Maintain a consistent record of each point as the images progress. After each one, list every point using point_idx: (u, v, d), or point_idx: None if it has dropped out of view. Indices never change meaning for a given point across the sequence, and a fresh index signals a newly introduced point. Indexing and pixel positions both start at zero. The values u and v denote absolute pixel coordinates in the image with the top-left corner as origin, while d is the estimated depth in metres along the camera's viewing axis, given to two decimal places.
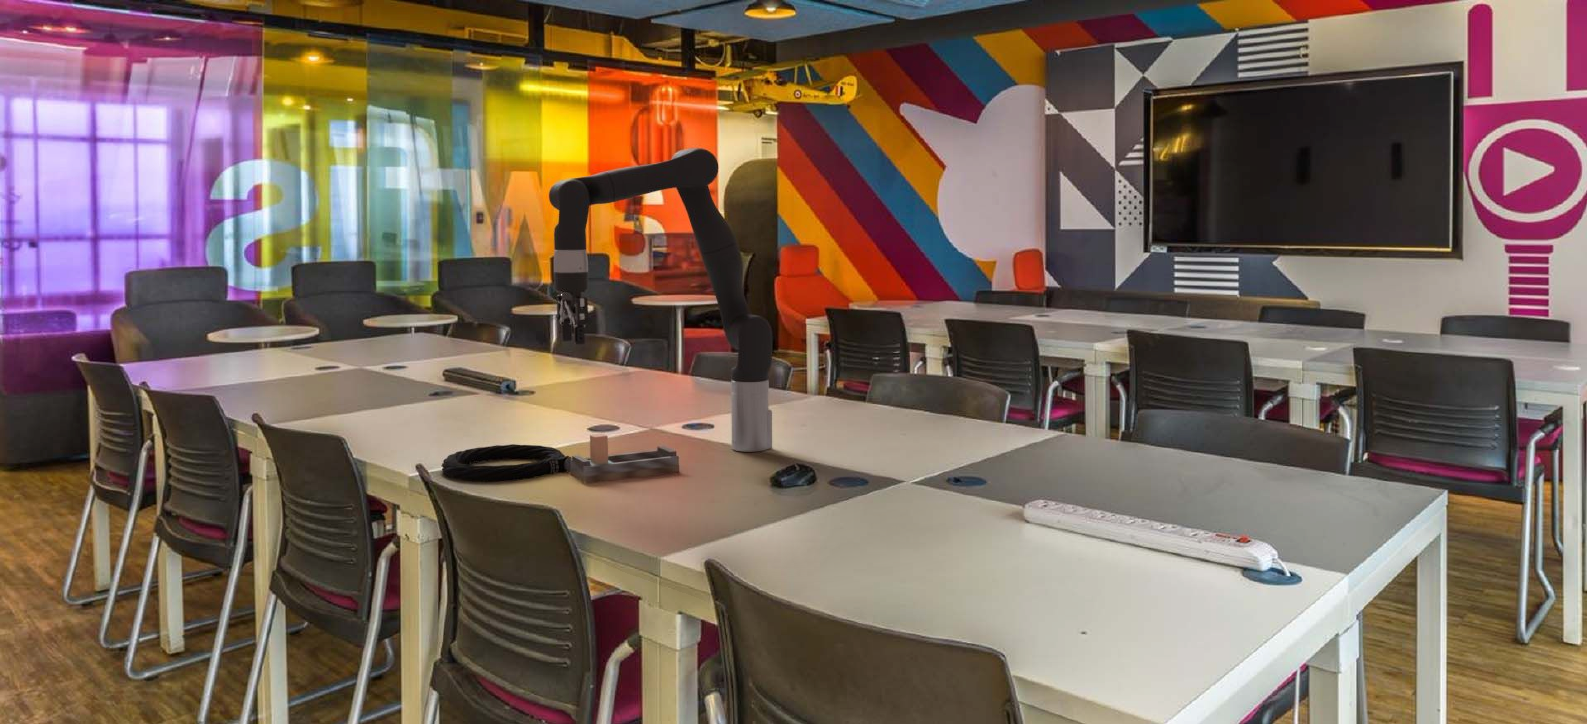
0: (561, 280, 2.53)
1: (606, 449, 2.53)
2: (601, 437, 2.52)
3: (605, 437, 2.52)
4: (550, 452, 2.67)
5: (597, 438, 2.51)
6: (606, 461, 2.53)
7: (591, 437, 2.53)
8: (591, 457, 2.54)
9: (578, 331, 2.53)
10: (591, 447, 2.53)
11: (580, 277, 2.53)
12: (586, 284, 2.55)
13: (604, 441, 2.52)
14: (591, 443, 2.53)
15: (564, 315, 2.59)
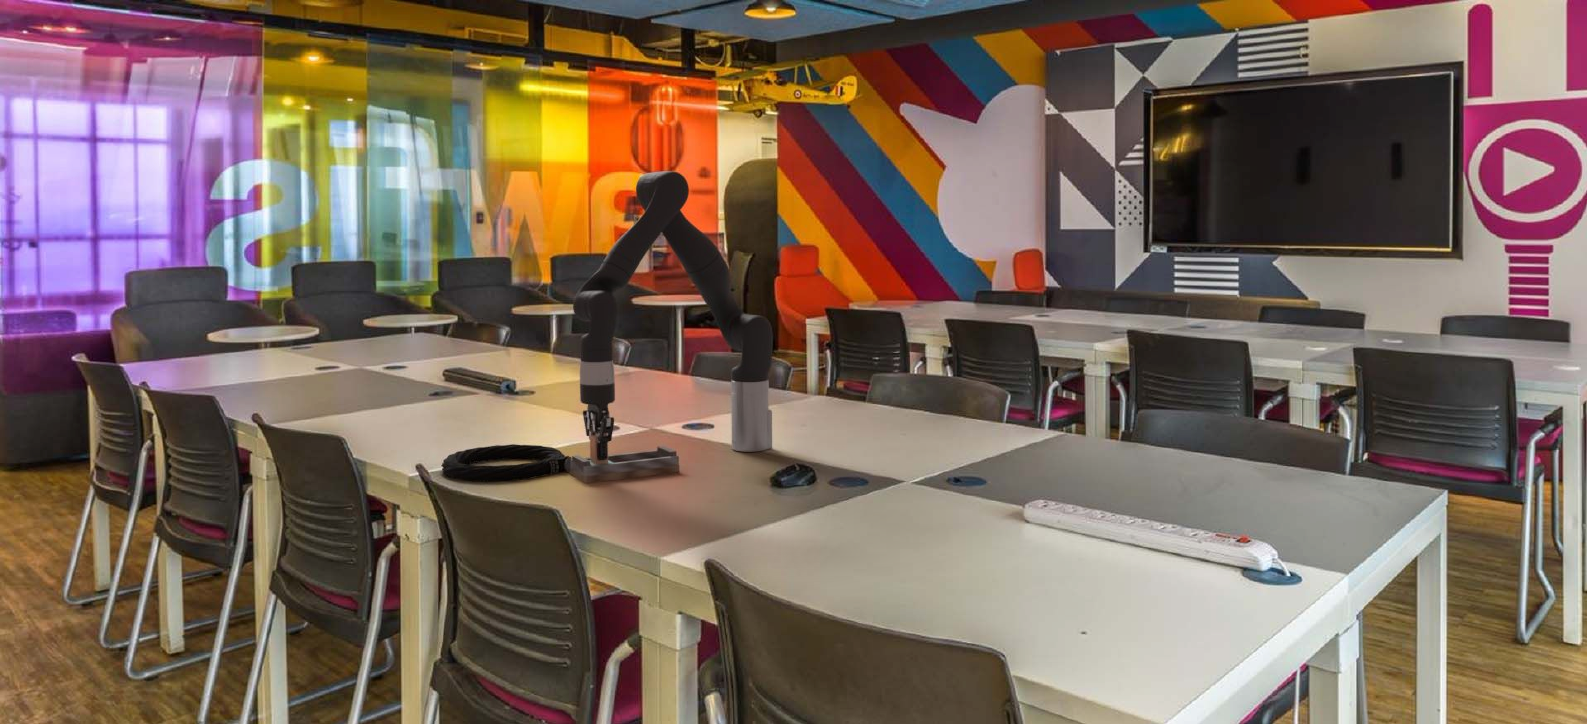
0: (587, 392, 2.48)
1: None
2: None
3: None
4: (550, 452, 2.67)
5: None
6: (606, 461, 2.53)
7: (591, 437, 2.53)
8: (591, 457, 2.54)
9: (601, 447, 2.51)
10: (591, 447, 2.53)
11: (606, 389, 2.49)
12: (613, 395, 2.51)
13: None
14: (591, 443, 2.53)
15: None
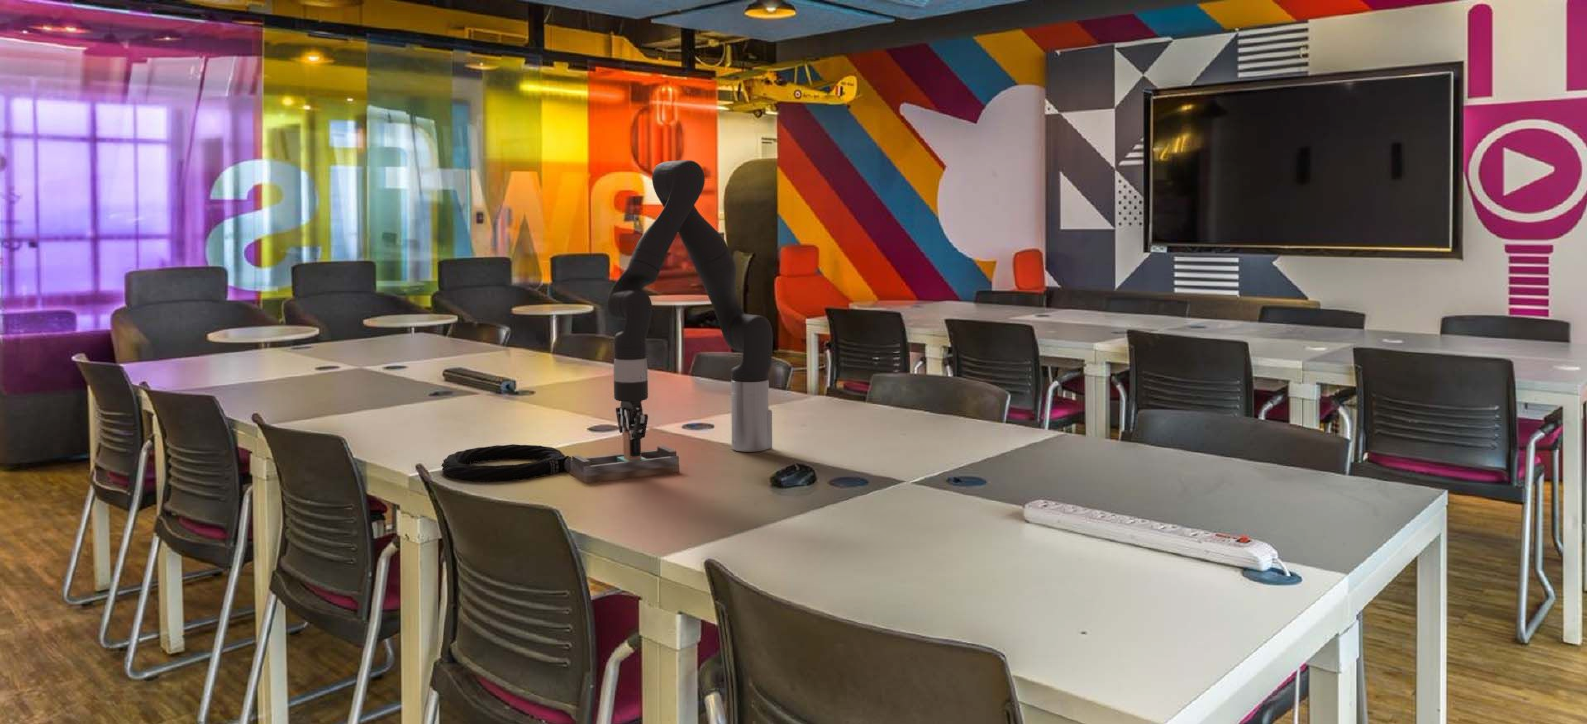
0: (621, 389, 2.52)
1: None
2: None
3: None
4: (550, 452, 2.67)
5: None
6: (639, 457, 2.57)
7: (624, 434, 2.56)
8: (624, 453, 2.57)
9: (634, 444, 2.54)
10: (624, 444, 2.57)
11: (640, 387, 2.53)
12: (646, 393, 2.55)
13: None
14: (625, 439, 2.57)
15: None
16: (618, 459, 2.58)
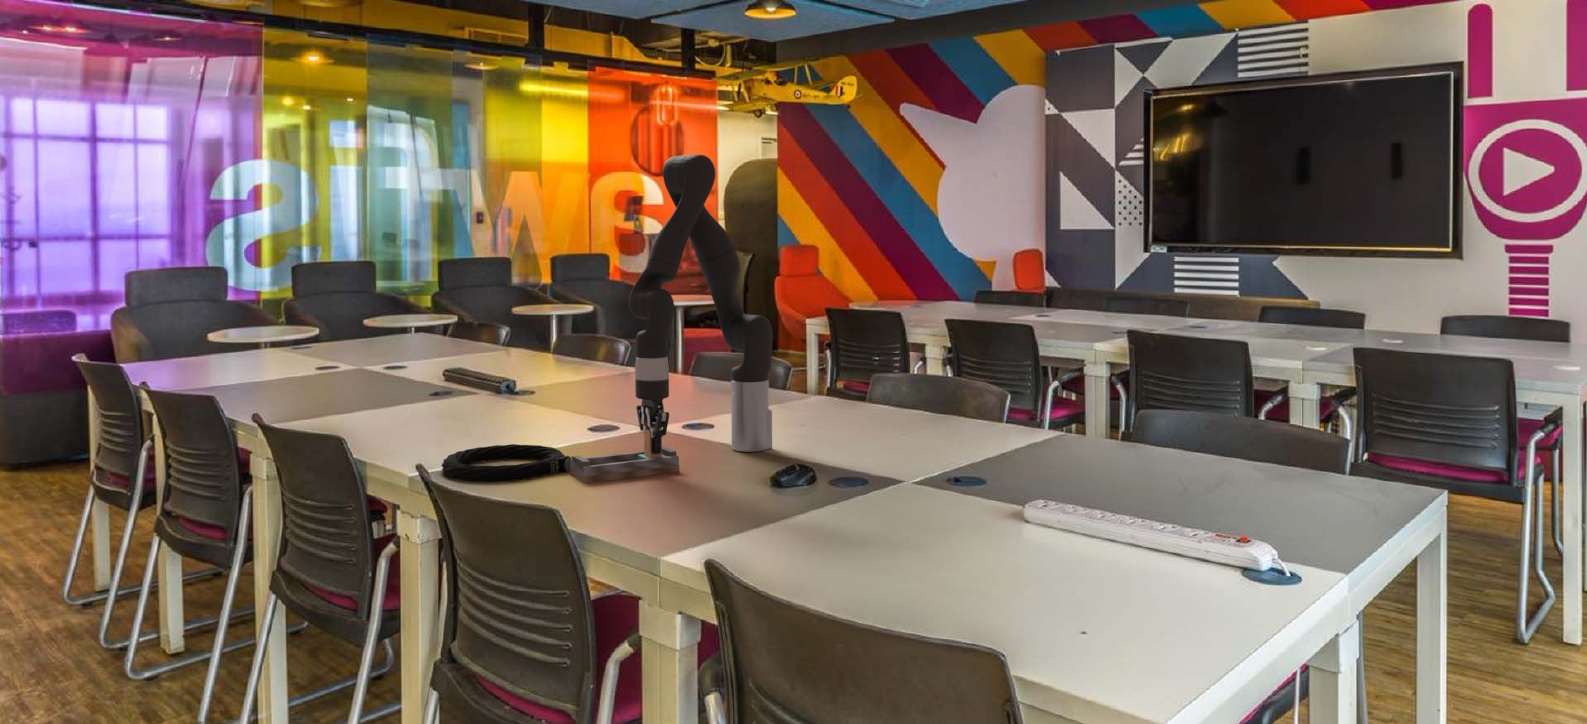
0: (643, 387, 2.55)
1: None
2: None
3: None
4: (550, 452, 2.67)
5: None
6: (660, 455, 2.59)
7: (645, 431, 2.59)
8: (645, 451, 2.60)
9: (655, 441, 2.57)
10: (645, 442, 2.59)
11: (661, 385, 2.55)
12: (667, 391, 2.57)
13: None
14: (646, 437, 2.59)
15: None
16: (639, 457, 2.61)
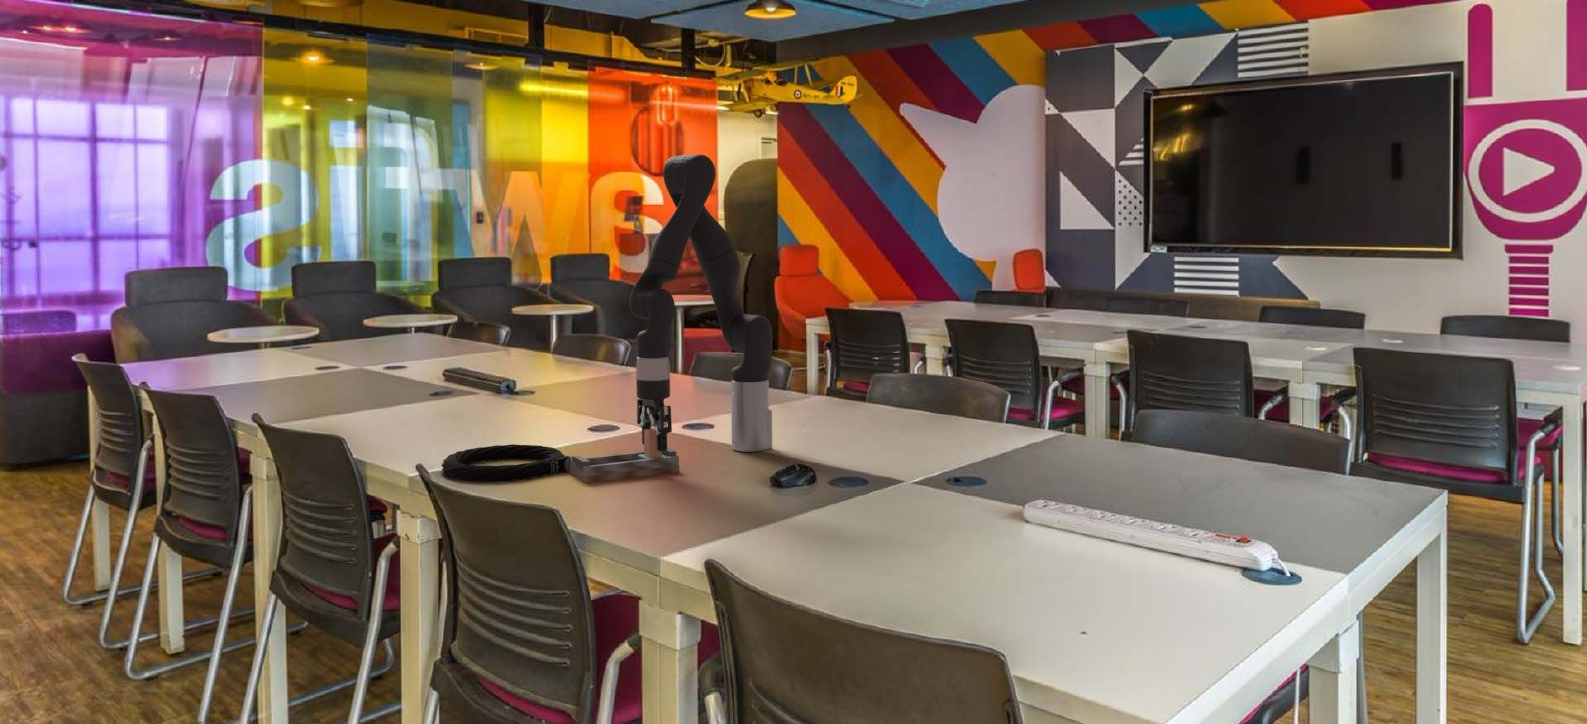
0: (644, 387, 2.55)
1: None
2: (655, 431, 2.58)
3: None
4: (550, 452, 2.67)
5: (651, 432, 2.58)
6: (660, 455, 2.59)
7: (645, 431, 2.59)
8: (645, 451, 2.60)
9: (661, 438, 2.55)
10: (645, 442, 2.59)
11: (663, 385, 2.55)
12: (668, 391, 2.57)
13: None
14: (645, 437, 2.59)
15: (645, 420, 2.61)
16: (639, 457, 2.61)
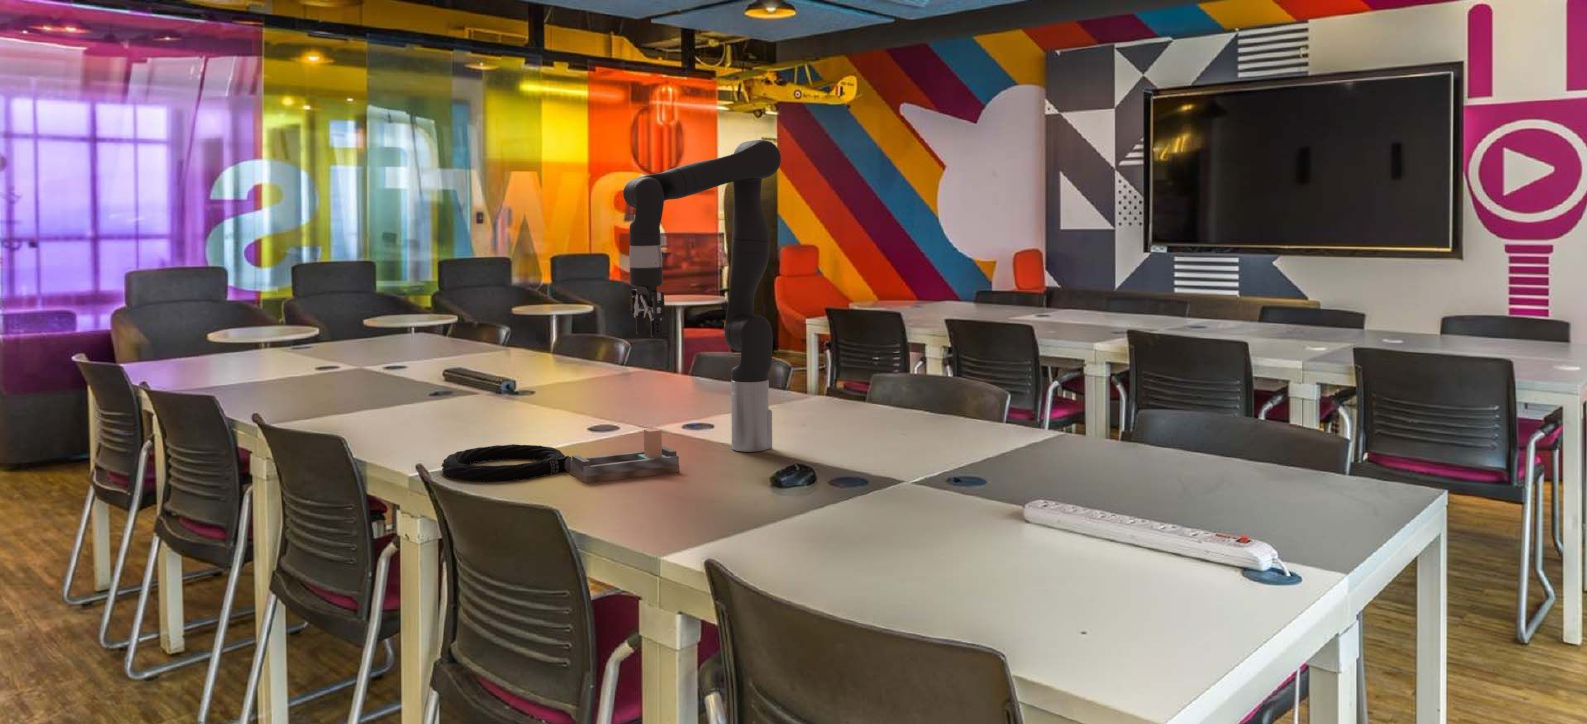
0: (637, 275, 2.61)
1: (660, 443, 2.59)
2: (655, 431, 2.58)
3: (659, 431, 2.58)
4: (550, 452, 2.67)
5: (651, 432, 2.58)
6: (660, 455, 2.59)
7: (645, 431, 2.59)
8: (645, 451, 2.60)
9: (655, 324, 2.61)
10: (645, 442, 2.59)
11: (655, 272, 2.61)
12: (661, 279, 2.63)
13: (658, 435, 2.58)
14: (645, 437, 2.59)
15: (639, 309, 2.67)
16: (639, 457, 2.61)
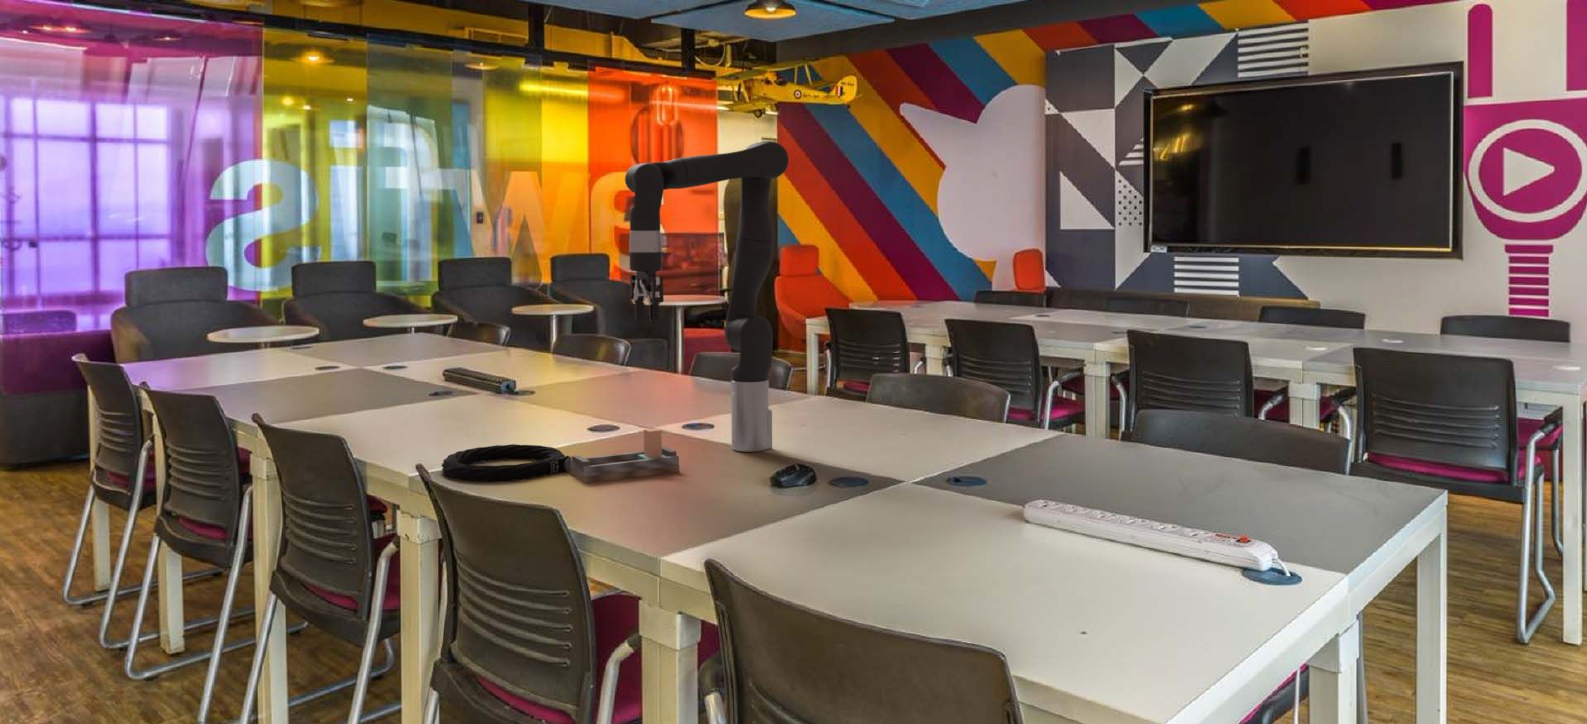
0: (637, 259, 2.63)
1: (660, 443, 2.59)
2: (655, 431, 2.58)
3: (659, 431, 2.58)
4: (550, 452, 2.67)
5: (651, 432, 2.58)
6: (660, 455, 2.59)
7: (645, 431, 2.59)
8: (645, 451, 2.60)
9: (653, 308, 2.64)
10: (645, 442, 2.59)
11: (655, 257, 2.64)
12: (660, 264, 2.66)
13: (658, 435, 2.58)
14: (645, 437, 2.59)
15: (638, 294, 2.70)
16: (639, 457, 2.61)
